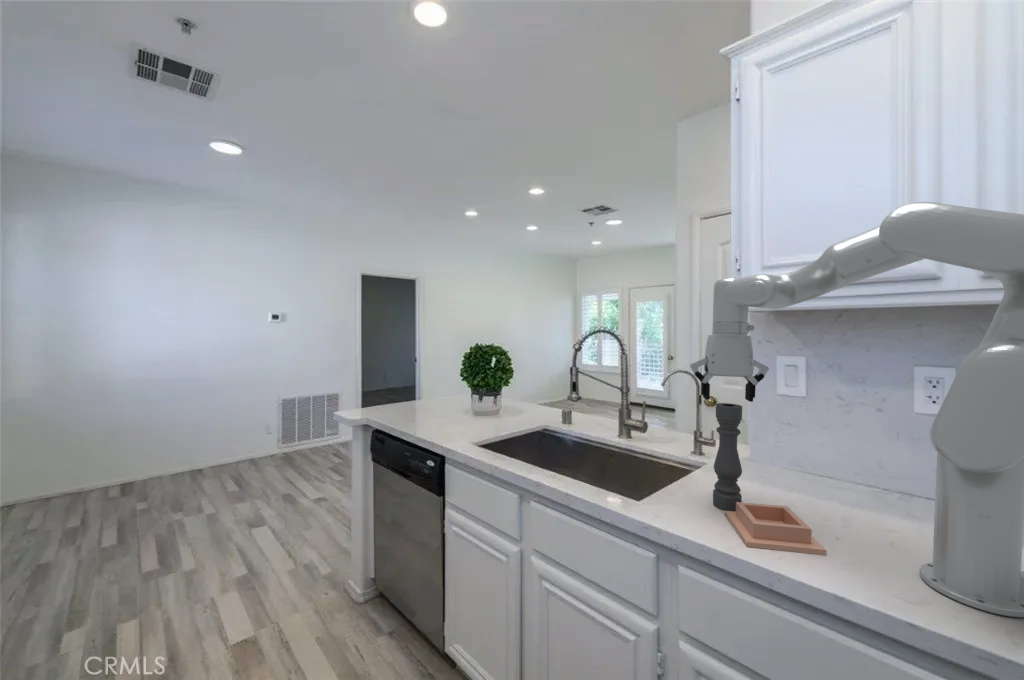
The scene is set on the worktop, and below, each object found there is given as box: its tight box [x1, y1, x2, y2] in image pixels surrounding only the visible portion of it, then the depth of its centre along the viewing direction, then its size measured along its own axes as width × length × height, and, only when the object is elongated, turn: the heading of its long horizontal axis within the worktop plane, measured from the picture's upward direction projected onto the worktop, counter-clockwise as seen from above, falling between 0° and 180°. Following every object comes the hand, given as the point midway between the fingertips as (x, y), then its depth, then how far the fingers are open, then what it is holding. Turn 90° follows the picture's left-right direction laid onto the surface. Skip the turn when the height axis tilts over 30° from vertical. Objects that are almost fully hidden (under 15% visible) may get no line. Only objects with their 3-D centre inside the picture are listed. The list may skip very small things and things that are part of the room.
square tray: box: [724, 502, 828, 556], centre depth 85 cm, size 14×14×4 cm
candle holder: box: [712, 402, 743, 512], centre depth 97 cm, size 6×6×25 cm
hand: (727, 399), depth 97 cm, fingers open, 9 cm apart
